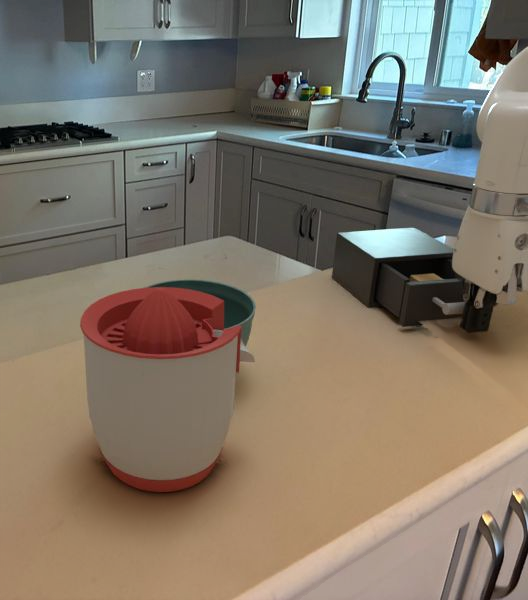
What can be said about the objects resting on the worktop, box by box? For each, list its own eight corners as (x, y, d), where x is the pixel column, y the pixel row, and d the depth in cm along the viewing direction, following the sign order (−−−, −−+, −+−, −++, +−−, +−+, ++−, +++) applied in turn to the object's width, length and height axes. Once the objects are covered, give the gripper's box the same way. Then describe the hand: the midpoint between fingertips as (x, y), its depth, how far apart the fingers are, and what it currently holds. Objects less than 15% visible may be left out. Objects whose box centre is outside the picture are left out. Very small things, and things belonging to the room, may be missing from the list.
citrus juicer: (270, 497, 61) (287, 314, 53) (95, 518, 59) (84, 331, 50) (225, 409, 75) (233, 254, 67) (83, 423, 73) (73, 265, 65)
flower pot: (176, 427, 72) (177, 345, 67) (106, 369, 84) (102, 296, 80) (276, 385, 79) (283, 309, 75) (198, 338, 92) (200, 270, 88)
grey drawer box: (450, 300, 102) (460, 252, 99) (367, 307, 100) (375, 258, 97) (406, 271, 115) (413, 227, 111) (331, 277, 113) (336, 232, 109)
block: (429, 296, 99) (433, 273, 98) (444, 306, 96) (449, 282, 94) (406, 298, 99) (410, 275, 97) (420, 308, 95) (424, 284, 93)
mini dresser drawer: (505, 332, 89) (516, 289, 87) (419, 340, 88) (427, 296, 85) (436, 288, 105) (444, 251, 102) (362, 294, 103) (367, 256, 100)
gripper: (576, 215, 72) (537, 352, 80) (490, 186, 86) (464, 306, 93) (518, 219, 71) (484, 357, 79) (440, 189, 85) (418, 310, 92)
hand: (473, 329), depth 86 cm, fingers closed
